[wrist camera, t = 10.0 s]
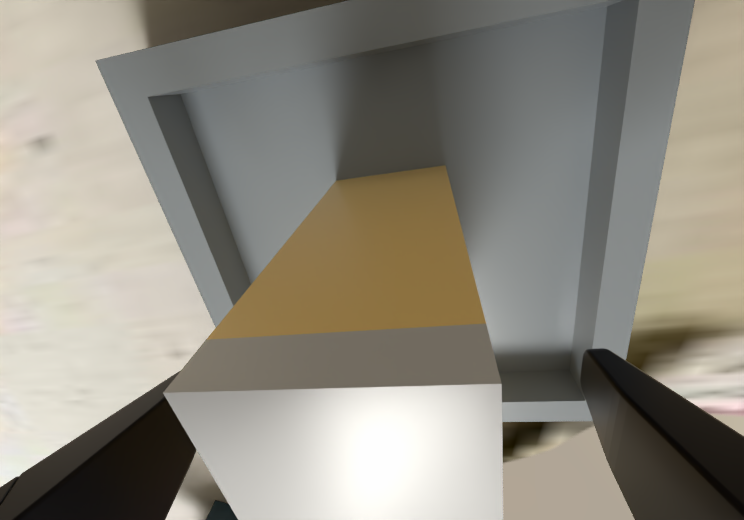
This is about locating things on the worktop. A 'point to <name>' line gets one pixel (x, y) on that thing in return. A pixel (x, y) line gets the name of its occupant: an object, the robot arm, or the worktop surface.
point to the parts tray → (430, 152)
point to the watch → (221, 512)
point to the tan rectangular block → (355, 368)
